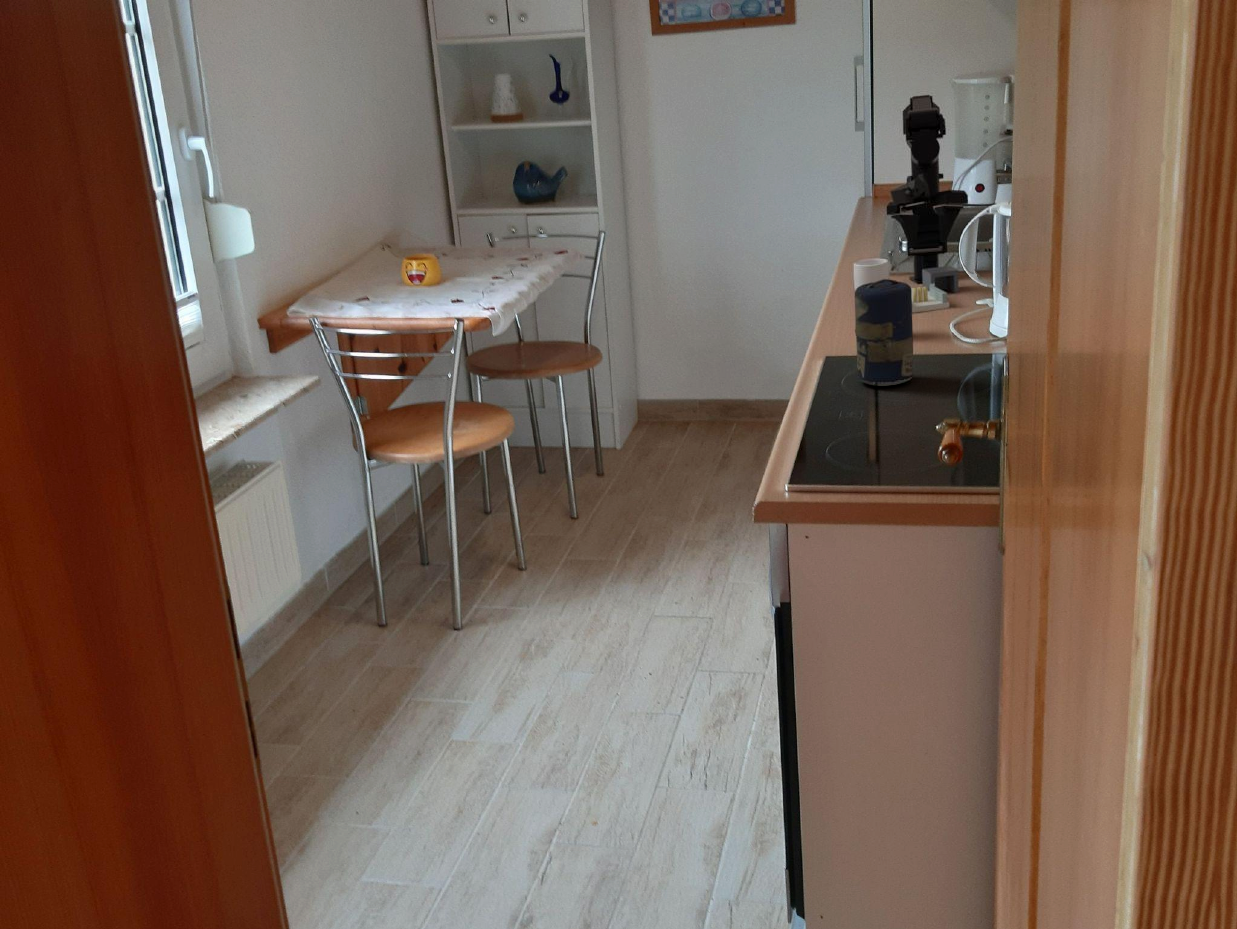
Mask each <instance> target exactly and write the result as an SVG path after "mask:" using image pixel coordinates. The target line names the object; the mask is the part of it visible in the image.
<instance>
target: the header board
mask: <svg viewBox="0 0 1237 929" xmlns="http://www.w3.org/2000/svg"><path fill="white" fill-rule="evenodd" d="M911 290H912V314H913V313H922V312H928V311H935V310H936V311H937V310H943V309H944V310H945V309H950V302H949V301H948V293H947V292H946V291H944V290H940V289H938V288H936V287H935V284H930V291H928V288H927V287H923V286H918V287H911Z"/></svg>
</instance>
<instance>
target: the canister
mask: <svg viewBox="0 0 1237 929" xmlns="http://www.w3.org/2000/svg"><path fill="white" fill-rule="evenodd" d="M911 288H912V286H910V284H908V283H906V282H902V281H897V280H894V279H891V278H890V279H882V280H880V281H877V282H872V283H867V284H864V285H861V286H859V287H858V288H857V289H856V291H855V290H854V319H855V320H854V323H855V325H854V326H855V329H854V333H855V336H856V339H855V340H856V360H857V362H856V367H857V377H859V378H858V380H859V379H862V380H865V381H869V382H880V383H881V382H884V383H885V382H895V381H898V380H904V379H908V378H910V377H912V376H913V377H914V375H913V374H914V373H915V372H914V330H913V313H912V290H911Z"/></svg>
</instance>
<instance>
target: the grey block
mask: <svg viewBox="0 0 1237 929" xmlns="http://www.w3.org/2000/svg"><path fill="white" fill-rule="evenodd" d="M922 276H923V283H922V288H923V287H927V288H928V291H930V284H935V287H936V288H938V289H940V290H942V291H944V290H949V292H952V293H954V294H955V293H959V292H960V291H959V269H957V268H955V267H953V266H950V265H945V266H939V267H936V268H929V269H922Z"/></svg>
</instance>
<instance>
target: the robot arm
mask: <svg viewBox="0 0 1237 929" xmlns="http://www.w3.org/2000/svg"><path fill="white" fill-rule="evenodd" d="M946 127H947V126H946V118H944V115H943V113H941V108H940V106H938V105H937V104H936V103H935V102H934V101H933V95H930V94H925V95H924V94H923V95H914V96H912V97H909V104H907V106H906V107H905V108H904V109H903V110H902V135H905V142H906V145H907V146H908V148H909V149H910V168H911V173H910V174H911V175H907V177H906V183H905V184H903V185H900V186H898V187H896V188H894V189H892V190H890V191H889V192H890V196H891V198H892V199H891V200H892V201H889V202H888V204H887V205H886V215H887V216H890V218H891V219H895V220H896V221H897V222H898V223H899V224H900V226H901V228H902V230H903V233H904V235H905V237H906V248H907V249H906V250H907V257H912V259H913V261H912V262H913V276H908V278H909V280H911V281H912V282H914V283H916V284H921V283H922V284H923V276H922V269H929V268H936V267H940V262H939V261H940V258H939V255H945V254H947V253H948V239H949V235H950V233H951V230H952V229H953V226H954V224H955V223H956V222H955V221H956V220H957V218H958V216H959V214H960V212H961V211H962V210H964V205H968V204H969V195H968V193H967V192H966V191H965V190H964V189H963V190H961V189H947V190H942V191H940V190H941V188H940V186H941V185H940V180H941V179H943V180H944V173H940V164H939V163H940V161H939V156H940V150H941V146H940V145H941V144H940V143H939V140H941V139H944V136H946V135H947V128H946Z"/></svg>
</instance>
